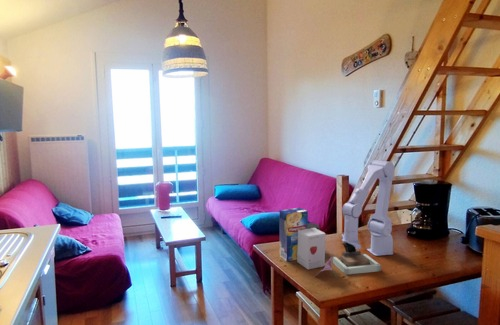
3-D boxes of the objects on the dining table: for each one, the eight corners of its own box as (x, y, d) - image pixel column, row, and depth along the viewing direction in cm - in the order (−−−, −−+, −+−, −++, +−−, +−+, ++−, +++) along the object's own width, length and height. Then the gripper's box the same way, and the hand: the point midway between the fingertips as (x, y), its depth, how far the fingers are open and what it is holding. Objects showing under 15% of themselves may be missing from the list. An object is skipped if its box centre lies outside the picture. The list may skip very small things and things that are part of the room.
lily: (334, 270, 157) (323, 250, 157) (353, 270, 147) (341, 248, 147) (315, 286, 150) (304, 266, 151) (334, 287, 140) (322, 265, 141)
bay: (365, 259, 166) (365, 254, 165) (380, 270, 154) (380, 265, 153) (332, 262, 163) (332, 257, 162) (345, 274, 150) (345, 268, 150)
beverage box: (307, 257, 169) (308, 211, 165) (286, 261, 164) (287, 214, 161) (299, 252, 175) (299, 207, 172) (279, 256, 170) (279, 210, 167)
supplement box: (307, 270, 155) (308, 236, 153) (296, 262, 163) (297, 229, 161) (325, 266, 159) (326, 233, 157) (313, 258, 167) (314, 227, 165)
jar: (309, 253, 172) (309, 229, 171) (297, 248, 179) (298, 225, 177) (323, 249, 177) (323, 226, 176) (311, 244, 184) (311, 221, 182)
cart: (362, 262, 163) (362, 250, 162) (370, 268, 156) (371, 256, 155) (338, 264, 161) (339, 252, 160) (346, 271, 154) (346, 259, 153)
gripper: (335, 225, 167) (334, 253, 169) (350, 235, 153) (349, 266, 155) (349, 224, 169) (349, 252, 171) (365, 234, 155) (364, 265, 157)
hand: (350, 259), depth 163 cm, fingers closed
